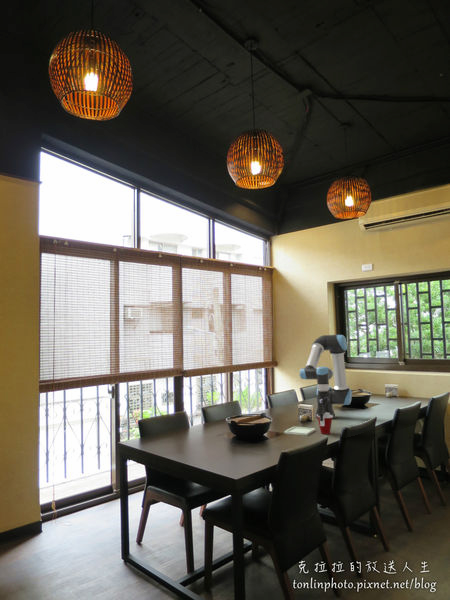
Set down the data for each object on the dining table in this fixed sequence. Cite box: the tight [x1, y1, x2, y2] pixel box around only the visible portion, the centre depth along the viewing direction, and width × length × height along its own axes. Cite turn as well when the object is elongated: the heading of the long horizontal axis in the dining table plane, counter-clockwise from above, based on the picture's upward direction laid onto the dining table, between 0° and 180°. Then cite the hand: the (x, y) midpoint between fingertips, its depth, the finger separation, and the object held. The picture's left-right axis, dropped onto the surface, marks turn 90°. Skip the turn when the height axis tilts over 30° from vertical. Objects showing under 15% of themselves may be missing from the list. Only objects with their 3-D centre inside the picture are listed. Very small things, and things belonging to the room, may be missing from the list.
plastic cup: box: [317, 414, 333, 435], centre depth 279 cm, size 11×11×12 cm
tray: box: [283, 426, 317, 437], centre depth 286 cm, size 16×16×1 cm
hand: (325, 424), depth 279 cm, fingers closed on plastic cup, 11 cm apart
